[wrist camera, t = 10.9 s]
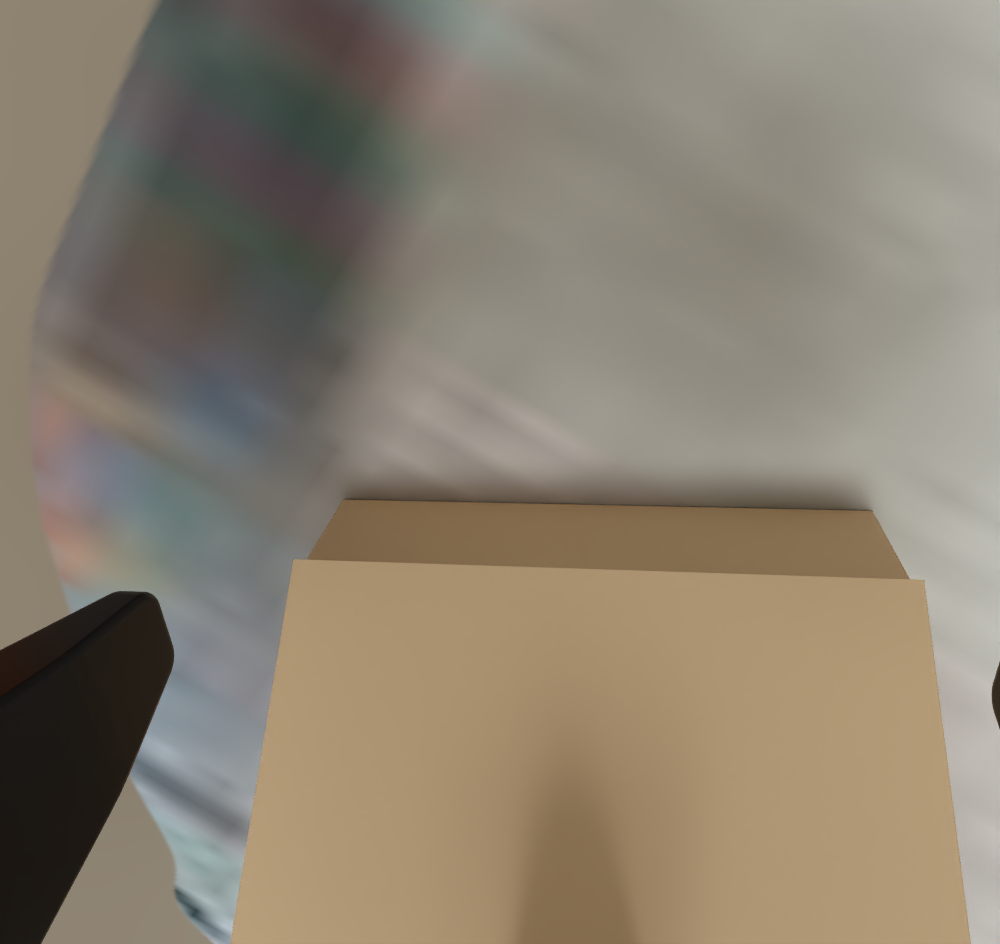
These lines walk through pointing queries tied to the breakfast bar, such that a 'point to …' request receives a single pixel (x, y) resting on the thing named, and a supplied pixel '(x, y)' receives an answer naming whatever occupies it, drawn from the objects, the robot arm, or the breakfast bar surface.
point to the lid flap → (601, 761)
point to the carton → (612, 538)
